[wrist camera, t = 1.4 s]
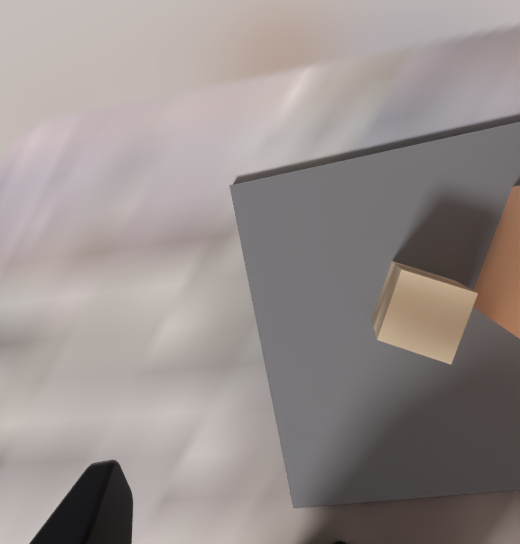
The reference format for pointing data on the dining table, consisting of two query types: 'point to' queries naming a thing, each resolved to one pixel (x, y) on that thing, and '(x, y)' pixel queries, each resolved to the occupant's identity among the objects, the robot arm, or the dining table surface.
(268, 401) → the dining table surface
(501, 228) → the tan tall block
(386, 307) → the beige wooden cube
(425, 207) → the mat
